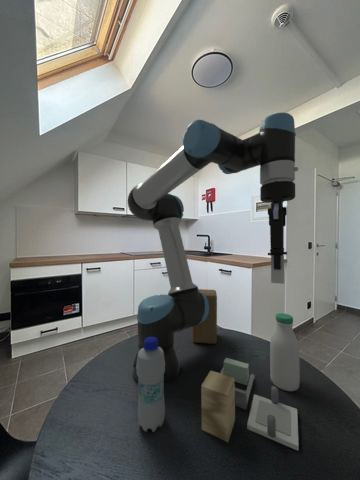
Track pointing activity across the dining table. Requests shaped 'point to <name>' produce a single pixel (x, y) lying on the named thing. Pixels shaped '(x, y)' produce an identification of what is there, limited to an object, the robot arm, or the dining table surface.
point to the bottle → (151, 385)
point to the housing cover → (237, 370)
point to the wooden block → (207, 321)
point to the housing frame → (242, 393)
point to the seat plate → (279, 435)
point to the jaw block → (218, 405)
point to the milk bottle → (284, 354)
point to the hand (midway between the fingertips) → (277, 282)
